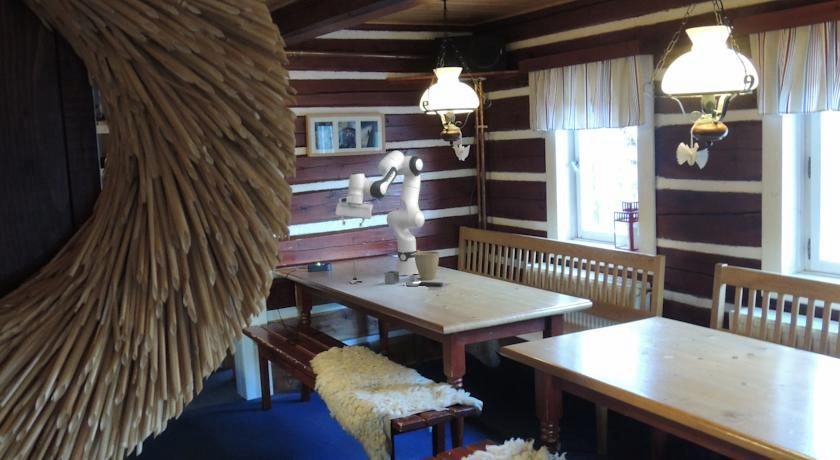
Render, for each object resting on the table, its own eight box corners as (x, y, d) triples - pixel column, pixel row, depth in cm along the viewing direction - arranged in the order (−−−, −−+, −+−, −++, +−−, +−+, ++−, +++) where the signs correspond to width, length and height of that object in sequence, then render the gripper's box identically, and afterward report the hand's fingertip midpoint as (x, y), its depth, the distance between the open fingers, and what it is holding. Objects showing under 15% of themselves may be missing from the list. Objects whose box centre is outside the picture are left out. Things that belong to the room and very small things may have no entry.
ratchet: (403, 286, 438) (402, 276, 437) (410, 283, 445) (409, 273, 445) (438, 288, 428) (437, 277, 427) (444, 285, 436) (444, 274, 435)
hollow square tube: (390, 283, 454) (389, 271, 453) (399, 283, 452) (398, 271, 451) (385, 285, 449) (384, 272, 448) (394, 285, 446) (393, 273, 445)
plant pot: (440, 281, 450) (439, 254, 448) (414, 282, 450) (413, 255, 449) (440, 276, 465) (439, 250, 463) (415, 278, 465) (414, 251, 463)
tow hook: (367, 283, 458) (361, 280, 467) (366, 262, 456) (359, 259, 464) (354, 285, 455) (347, 282, 463) (353, 264, 453) (346, 261, 461)
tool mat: (411, 282, 452) (410, 281, 451) (452, 284, 440) (452, 283, 440) (394, 289, 434) (394, 288, 434) (437, 291, 422) (437, 290, 422)
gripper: (373, 203, 444) (370, 227, 443) (337, 199, 444) (334, 224, 443) (373, 202, 438) (370, 226, 437) (336, 198, 437) (333, 223, 436)
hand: (352, 225), depth 440 cm, fingers open, 8 cm apart
